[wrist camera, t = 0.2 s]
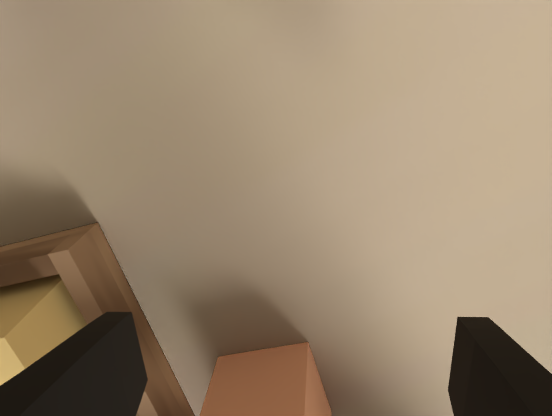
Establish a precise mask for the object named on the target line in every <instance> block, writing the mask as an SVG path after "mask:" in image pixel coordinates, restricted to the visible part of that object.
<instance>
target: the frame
mask: <svg viewBox="0 0 552 416" xmlns="http://www.w3.org/2000/svg"><path fill="white" fill-rule="evenodd" d="M57 274H59V275H60V277H61V279H62V281H63V282H64V284H65V286H66V288H67V289H68V291H69V293H70V295H71V296H72V298H73V300H74V302H75V303H76V305H77V307H78V309H79V310H80V312H81V314H82V316H83V317H84V319H85V321H86V323H87V324H89V323H90V322H92V321H93V320H95V319H96V318H98V317H99V316H101V315H102V314H104V313H106V312H132V315H133V319H134V323H135V327H136V332H137V336H138V340H139V344H140V348H141V353H142V357H143V361H144V365H145V369H146V374H147V378H148V381H147V384H146V387H145V390H144V393H143V396H142V399H141V403H140V405H139V408H138V411H137V414H136V416H194V414H193V412H192V410H191V408H190V406H189V404H188V402H187V400H186V398H185V396H184V394H183V392H182V390H181V388H180V386H179V384H178V382H177V380H176V378H175V376H174V374H173V372H172V370H171V368H170V366H169V364H168V362H167V360H166V358H165V356H164V354H163V352H162V350H161V348H160V346H159V344H158V342H157V340H156V338H155V336H154V334H153V332H152V330H151V328H150V326H149V324H148V322H147V320H146V318H145V316H144V314H143V312H142V310H141V308H140V306H139V304H138V302H137V300H136V298H135V296H134V294H133V292H132V290H131V288H130V286H129V284H128V282H127V280H126V278H125V276H124V274H123V272H122V270H121V268H120V266H119V264H118V262H117V260H116V258H115V256H114V254H113V252H112V250H111V248H110V246H109V244H108V242H107V240H106V238H105V236H104V234H103V232H102V230H101V228H100V226H99V224H98V223H94V224H90V225H86V226H82V227H78V228H74V229H70V230H66V231H62V232H58V233H53V234H49V235H45V236H41V237H37V238H33V239H29V240H25V241H21V242H17V243H13V244H9V245H5V246H1V247H0V287H3V286H8V285H12V284H17V283H21V282H25V281H30V280H34V279H39V278H43V277H48V276H52V275H57Z"/></svg>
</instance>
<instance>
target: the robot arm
mask: <svg viewBox="0 0 552 416" xmlns="http://www.w3.org/2000/svg"><path fill="white" fill-rule="evenodd" d="M147 381H148V378H147V374H146V369H145V365H144V361H143V357H142V353H141V348H140V344H139V340H138V336H137V332H136V327H135V323H134V319H133V315H132V312H106V313H104V314H102V315H101V316H99V317H98V318H96V319H95V320H93V321H92V322H90V323H89V324H87V325H86V326H85V327H83V328H82V329H80V330H79V331H77V332H76V333H75V334H73V335H72V336H70V337H69V338H68V339H66V340H65V341H64V342H62V343H61V344H59V345H58V346H57V347H55V348H54V349H52V350H51V351H50V352H48V353H47V354H45V355H44V356H43V357H41V358H40V359H38V360H37V361H35V362H34V363H33V364H31V365H30V366H28V367H27V368H26V369H24V370H23V371H21V372H20V373H18V374H17V375H16V376H14V377H13V378H11V379H10V380H8V381H6V382H5V383H3V384H2V385H0V416H136V414H137V411H138V408H139V405H140V403H141V399H142V396H143V393H144V390H145V387H146V384H147ZM448 392H449V396H450V401H451V405H452V409H453V414H454V416H552V374H551V373H550V372H549V371H548V370H547V369H545V368H544V367H543V366H542V365H541V364H540V363H539V362H538V361H536V360H535V359H534V358H533V357H532V356H531V355H530V354H529V353H527V352H526V351H525V350H524V349H523V348H522V347H521V346H520V345H519V344H517V343H516V342H515V341H514V340H513V339H512V338H511V337H510V336H509V335H508V334H506V333H505V332H504V331H503V330H502V329H501V328H500V327H499V326H498V325H496V324H495V323H494V322H493V321H492V320H491V319H490V318H488V317H458V318H457V326H456V333H455V341H454V348H453V356H452V364H451V371H450V379H449V386H448Z"/></svg>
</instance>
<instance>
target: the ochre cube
mask: <svg viewBox="0 0 552 416" xmlns="http://www.w3.org/2000/svg"><path fill="white" fill-rule="evenodd" d="M86 325H87V323H86V321H85V319H84V317H83V316H82V314H81V312H80V310H79V309H78V307H77V305H76V303H75V302H74V300H73V298H72V296H71V295H70V293H69V291H68V289H67V288H66V286H65V284H64V282H63V281H62V279H61V277H60V275H59V274H57V275H52V276H48V277H43V278H39V279H34V280H30V281H25V282H21V283H17V284H12V285H8V286H3V287H0V385H2V384H3V383H5V382H6V381H8V380H10V379H11V378H13V377H14V376H16V375H17V374H18V373H20V372H21V371H23V370H24V369H26V368H27V367H28V366H30V365H31V364H33V363H34V362H35V361H37V360H38V359H40V358H41V357H43V356H44V355H45V354H47V353H48V352H50V351H51V350H52V349H54V348H55V347H57V346H58V345H59V344H61V343H62V342H64V341H65V340H66V339H68V338H69V337H70V336H72V335H73V334H75V333H76V332H77V331H79V330H80V329H82V328H83V327H85V326H86Z"/></svg>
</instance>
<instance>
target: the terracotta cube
mask: <svg viewBox="0 0 552 416" xmlns="http://www.w3.org/2000/svg"><path fill="white" fill-rule="evenodd" d="M200 416H331V409H330V406H329V403H328V400H327V397H326V394H325V391H324V388H323V385H322V382H321V379H320V376H319V373H318V370H317V367H316V364H315V361H314V358H313V355H312V352H311V349H310V346H309V343H308V342H305V343H299V344H292V345H286V346H280V347H274V348H268V349H262V350H256V351H250V352H243V353H237V354H231V355H225V356H219V357H218V359H217V362H216V365H215V368H214V371H213V375H212V378H211V381H210V384H209V387H208V391H207V394H206V397H205V400H204V403H203V407H202V410H201V413H200Z"/></svg>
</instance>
